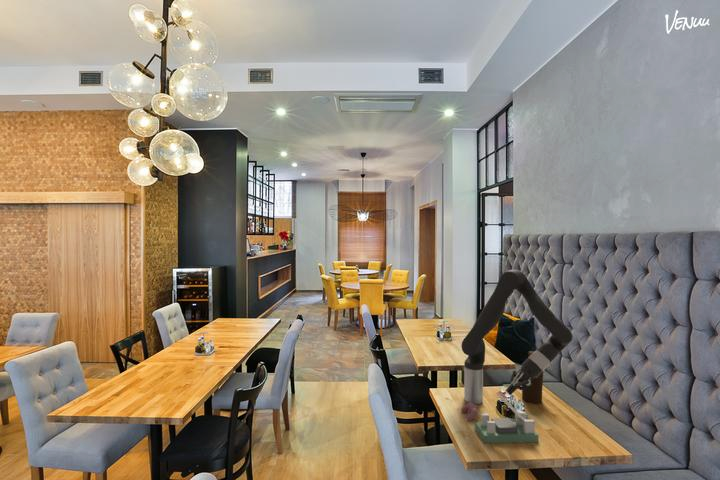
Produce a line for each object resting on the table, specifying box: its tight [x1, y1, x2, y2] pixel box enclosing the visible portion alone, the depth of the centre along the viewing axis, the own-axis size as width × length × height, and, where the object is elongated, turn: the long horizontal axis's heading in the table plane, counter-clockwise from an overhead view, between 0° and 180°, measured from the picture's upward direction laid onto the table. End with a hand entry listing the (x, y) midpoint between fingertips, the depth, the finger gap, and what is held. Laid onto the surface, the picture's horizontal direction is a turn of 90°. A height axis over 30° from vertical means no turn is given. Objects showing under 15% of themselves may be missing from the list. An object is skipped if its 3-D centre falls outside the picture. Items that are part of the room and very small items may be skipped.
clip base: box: [474, 411, 539, 444], centre depth 157 cm, size 11×22×8 cm, turn 92°
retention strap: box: [496, 390, 527, 422], centre depth 157 cm, size 5×17×2 cm
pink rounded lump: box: [460, 402, 479, 422], centre depth 174 cm, size 10×5×7 cm, turn 1°
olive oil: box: [520, 350, 544, 404], centre depth 192 cm, size 11×11×25 cm
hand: (507, 392), depth 157 cm, fingers closed
